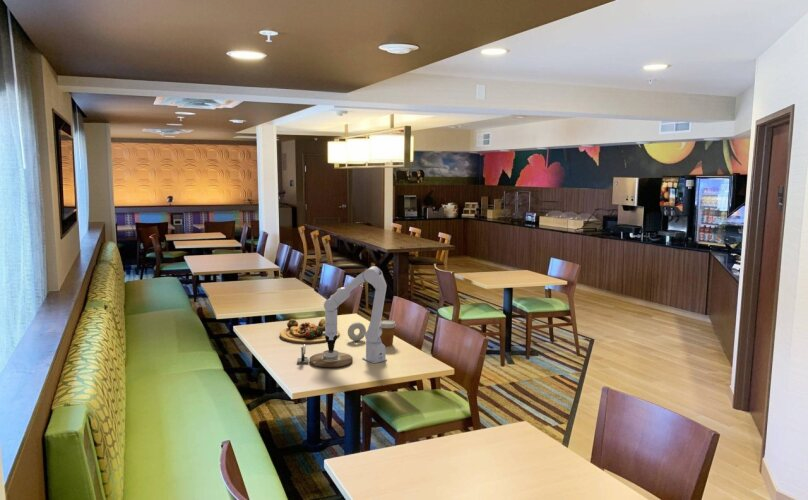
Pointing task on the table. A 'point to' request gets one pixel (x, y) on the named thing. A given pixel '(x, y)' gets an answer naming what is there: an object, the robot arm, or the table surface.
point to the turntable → (341, 361)
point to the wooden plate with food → (304, 332)
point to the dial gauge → (303, 359)
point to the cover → (330, 355)
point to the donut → (361, 334)
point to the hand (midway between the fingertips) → (331, 350)
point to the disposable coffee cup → (387, 332)
